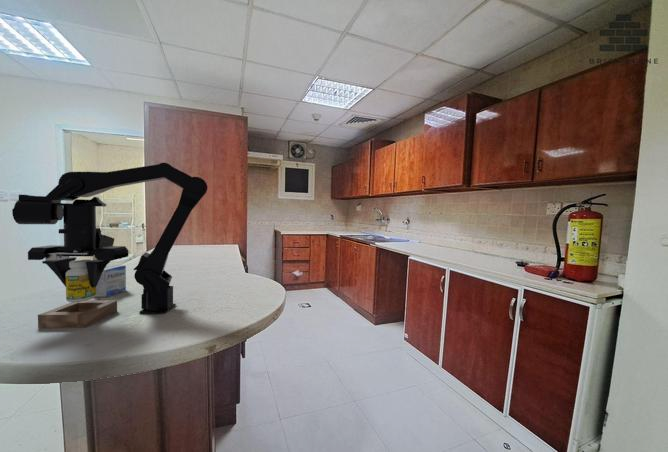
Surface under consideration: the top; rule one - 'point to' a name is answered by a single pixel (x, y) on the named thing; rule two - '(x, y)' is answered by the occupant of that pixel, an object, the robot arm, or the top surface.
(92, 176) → the robot arm
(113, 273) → the medicine box
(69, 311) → the socket block
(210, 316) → the top surface
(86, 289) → the supplement bottle
